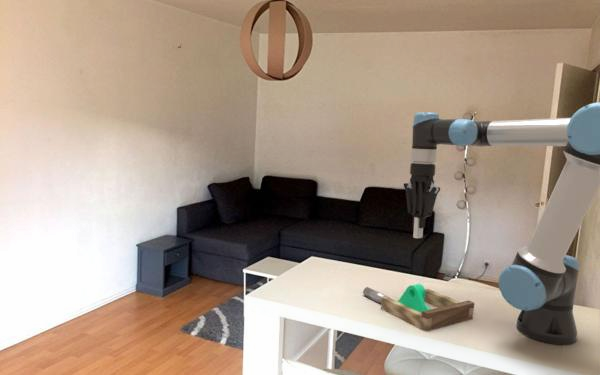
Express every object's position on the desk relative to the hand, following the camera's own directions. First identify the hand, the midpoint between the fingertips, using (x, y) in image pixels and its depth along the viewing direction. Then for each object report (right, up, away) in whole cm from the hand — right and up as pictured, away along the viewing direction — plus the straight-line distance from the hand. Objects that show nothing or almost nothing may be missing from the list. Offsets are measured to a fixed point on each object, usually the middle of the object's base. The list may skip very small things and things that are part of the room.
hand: (417, 237), depth 151 cm
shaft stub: (-12, -18, +2) cm, 22 cm away
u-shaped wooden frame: (+1, -22, -7) cm, 23 cm away
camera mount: (-2, -23, -10) cm, 25 cm away
